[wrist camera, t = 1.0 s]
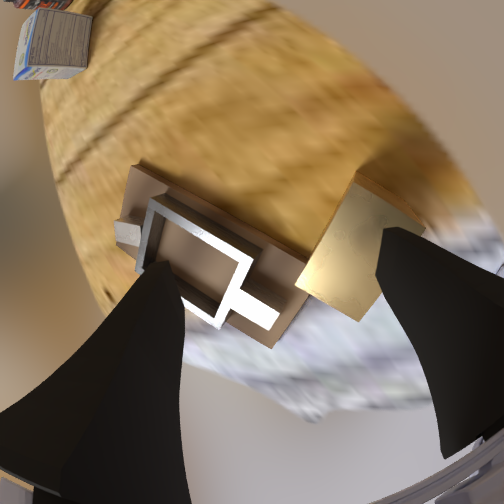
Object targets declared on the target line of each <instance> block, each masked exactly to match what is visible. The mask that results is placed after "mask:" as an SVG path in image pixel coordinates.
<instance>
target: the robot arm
mask: <svg viewBox="0 0 504 504" xmlns="http://www.w3.org/2000/svg"><path fill="white" fill-rule="evenodd" d="M375 276H376V279H377V281H378V283H379V286H380V288H381V290H382V292H383V295H384V297H385V299H386V300H387V302H388V304H389V306H390V307H391V309H392V311H393V312H394V314H395V316H396V317H397V319H398V321H399V322H400V324H401V326H402V328H403V329H404V331H405V333H406V335H407V336H408V338H409V340H410V342H411V343H412V345H413V347H414V349H415V351H416V353H417V356H418V358H419V361H420V363H421V366H422V368H423V371H424V374H425V377H426V380H427V383H428V386H429V389H430V393H431V396H432V400H433V404H434V408H435V413H436V417H437V423H438V429H439V437H440V448H441V453H442V455H443V458H444V459H447V458H448V457H450V456H452V455H454V454H455V453H457V452H459V451H460V450H462V449H463V448H465V447H466V446H468V445H470V444H471V443H472V442H474V441H475V440H477V439H478V438H479V439H478V440H477V441H476V442H475V444H474V447H473V449H472V451H471V452H470V453H469V454H467V455H465V456H464V457H462V458H461V459H459V460H458V461H456V462H454V463H453V464H451V465H450V466H448V467H446V468H444V469H443V470H441V471H439V472H437V473H436V474H434V475H432V476H430V477H428V478H426V479H424V480H423V481H421V482H419V483H416V484H414V485H412V486H410V487H408V488H406V489H404V490H401V491H399V492H397V493H395V494H392V495H390V496H387V497H385V498H382V499H380V500H377V501H374V502H372V503H369V504H423V503H425V502H427V501H429V500H431V499H432V498H435V497H436V496H438V495H440V494H442V493H443V492H445V491H446V492H445V493H443V494H442V495H441V496H440V497H438V498H437V499H436V500H435V504H504V266H502V267H501V268H500V270H499V272H498V273H497V274H496V275H495V274H493V273H491V272H489V271H486V270H484V269H482V268H480V267H478V266H476V265H474V264H472V263H470V262H468V261H466V260H464V259H462V258H460V257H458V256H456V255H455V254H453V253H451V252H449V251H447V250H445V249H443V248H441V247H440V246H438V245H436V244H434V243H432V242H430V241H428V240H426V239H424V238H422V237H421V236H419V235H416V234H414V233H412V232H410V231H408V230H406V229H403V228H400V227H390V228H383V233H382V239H381V245H380V251H379V257H378V262H377V267H376V272H375ZM184 338H185V306H184V304H183V301H182V298H181V295H180V293H179V290H178V287H177V284H176V281H175V278H174V275H173V272H172V269H171V266H170V263H169V260H167V261H161V262H154V263H151V264H150V265H149V266H148V267H147V268H146V269H145V270H144V272H143V273H142V274H141V275H140V277H139V278H138V279H137V280H136V282H135V283H134V284H133V285H132V287H131V288H130V289H129V291H128V292H127V293H126V294H125V296H124V297H123V298H122V299H121V301H120V302H119V303H118V304H117V306H116V307H115V308H114V309H113V310H112V312H111V313H110V314H109V315H108V316H107V318H106V319H105V320H104V321H103V322H102V324H101V325H100V326H99V327H98V329H97V330H96V331H95V332H94V333H93V334H92V335H91V336H90V338H89V339H88V340H87V341H86V342H85V343H84V344H83V345H82V346H81V347H80V348H79V349H78V350H77V351H76V352H75V353H74V354H73V355H72V356H71V357H70V358H69V359H68V360H67V361H66V362H65V363H64V364H62V365H61V366H60V367H59V368H58V369H57V370H56V371H55V372H54V373H53V374H52V375H51V376H49V377H48V378H47V379H46V380H45V381H43V382H42V383H41V384H40V385H39V386H38V387H36V388H35V389H34V390H33V391H31V392H30V393H28V394H27V395H26V396H25V397H23V398H22V399H20V400H19V401H18V402H16V403H15V404H13V405H11V406H10V407H9V408H7V409H6V410H4V411H2V412H1V413H0V469H1V470H3V471H4V472H6V473H8V474H10V475H12V476H14V477H16V478H18V479H20V480H22V481H24V482H26V483H28V484H30V485H33V486H34V491H31V490H28V489H26V488H24V487H22V486H20V485H18V484H16V483H14V482H12V481H10V480H8V479H6V478H4V477H2V478H1V482H0V504H192V503H191V498H190V494H189V489H188V484H187V479H186V472H185V466H184V459H183V451H182V441H181V430H180V413H179V390H180V378H181V368H182V358H183V348H184ZM468 476H469V479H467V480H465V481H463V482H461V481H462V480H464V479H466V478H467V477H468ZM459 482H461V483H459ZM458 483H459V484H458ZM456 484H457V485H456ZM453 486H454V487H453ZM448 489H449V490H448Z"/></svg>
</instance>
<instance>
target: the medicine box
mask: <svg viewBox="0 0 504 504" xmlns="http://www.w3.org/2000/svg"><path fill="white" fill-rule="evenodd" d="M92 18H93V17H92V16H88V15H83V14H78V13H73V12H68V11H62V10H56V9H49V8H41V7H39V8H38V9H37V10H36V11H35V12H34V13H33V14H32V15H31V16H30V17H29V18H28V19H27V20H26V21H25V23H24V24H23V25H22V29H21V33H20V37H19V42H18V47H17V53H16V59H15V67H14V75H13V79H14V80H29V79H69V78H71V77H72V76H74V75H76V74H78V73H80V72H82V71H83V70H85V69H87V58H88V47H89V38H90V31H91V24H92Z"/></svg>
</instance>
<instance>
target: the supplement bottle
mask: <svg viewBox="0 0 504 504" xmlns="http://www.w3.org/2000/svg"><path fill="white" fill-rule="evenodd" d="M4 1H6V2H13V3H14V7H16V8H22V9H35V10H37V9H38V8H39V7H41V8H49V9H56V10H62V11H63V10H64V9H65V8H66V7H68V6H69V4H70V3H71V2H72V0H4Z"/></svg>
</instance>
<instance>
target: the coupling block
mask: <svg viewBox="0 0 504 504" xmlns="http://www.w3.org/2000/svg"><path fill="white" fill-rule="evenodd" d="M390 227H400V228H403V229H406V230H408V231H410V232H412V233H414V234H416V235H419V236H421V235H422V233H423V232H424V230H425V229H426V228H425V226H424V225H423V224H422V222H421V221H420V220H419V218H418V217H417V216H416V214H415V213H414V212H413V211H412V209H411V208H410V207H409V206H408V204H407V203H406V202H405V201H404V200H403V199H401V198H400V197H398V196H397V195H395V194H393V193H392V192H390V191H389V190H387V189H385V188H384V187H382V186H381V185H379V184H377V183H376V182H374V181H372V180H371V179H369V178H367V177H366V176H364V175H362V174H360V173H359V172H357V171H356V172H355V173H354V175H353V177H352V179H351V181H350V183H349V185H348V187H347V189H346V191H345V192H344V194H343V196H342V198H341V200H340V202H339V204H338V205H337V207H336V209H335V211H334V213H333V215H332V216H331V218H330V220H329V222H328V224H327V225H326V227H325V229H324V231H323V232H322V234H321V236H320V238H319V240H318V241H317V243H316V245H315V247H314V249H313V251H312V253H311V255H310V257H309V259H308V261H307V263H306V264H305V266H304V268H303V270H302V272H301V274H300V276H299V278H298V280H297V282H296V283H295V285H296V286H297V287H299V288H301V289H302V290H304V291H306V292H308V293H309V294H311V295H313V296H314V297H316V298H318V299H319V300H321V301H323V302H325V303H326V304H328V305H330V306H331V307H333V308H335V309H337V310H338V311H340V312H342V313H344V314H345V315H347V316H349V317H350V318H352V319H354V320H356V321H357V322H359V321H360V320H361V319H362V317H363V316H364V315H365V314H366V312H367V311H368V310H369V309H370V307H371V306H372V305H373V303H374V302H375V301H376V300H377V298H378V297H379V296H380V294H381V293H382V290H381V288H380V286H379V283H378V281H377V279H376V276H375V272H376V267H377V262H378V257H379V251H380V245H381V239H382V233H383V228H390Z"/></svg>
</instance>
